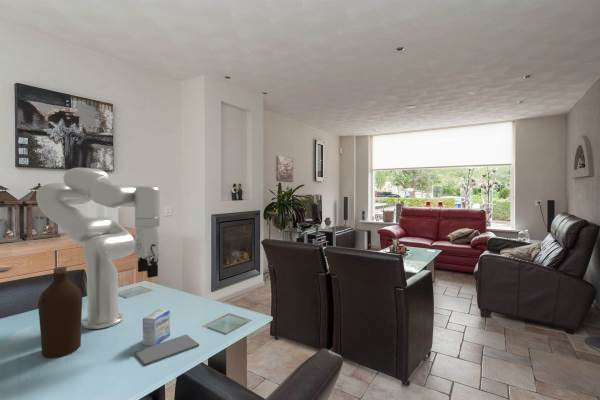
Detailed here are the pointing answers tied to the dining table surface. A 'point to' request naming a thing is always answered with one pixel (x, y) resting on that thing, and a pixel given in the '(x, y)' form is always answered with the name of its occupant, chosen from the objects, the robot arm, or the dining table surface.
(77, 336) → the olive oil
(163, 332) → the medicine box
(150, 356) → the mat
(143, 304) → the dining table surface
